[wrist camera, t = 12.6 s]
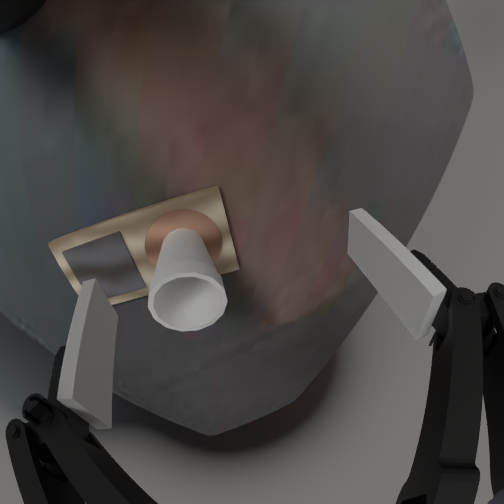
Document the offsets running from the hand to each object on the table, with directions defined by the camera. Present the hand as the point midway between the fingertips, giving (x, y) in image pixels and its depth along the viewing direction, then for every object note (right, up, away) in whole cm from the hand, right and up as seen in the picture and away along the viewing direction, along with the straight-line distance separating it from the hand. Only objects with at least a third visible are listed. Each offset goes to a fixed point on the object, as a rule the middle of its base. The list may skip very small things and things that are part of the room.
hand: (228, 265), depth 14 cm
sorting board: (-16, 0, +30) cm, 34 cm away
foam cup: (-9, +2, +30) cm, 31 cm away
